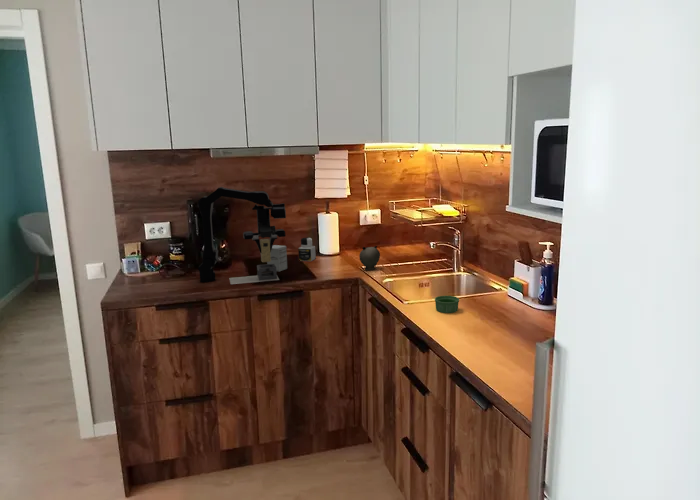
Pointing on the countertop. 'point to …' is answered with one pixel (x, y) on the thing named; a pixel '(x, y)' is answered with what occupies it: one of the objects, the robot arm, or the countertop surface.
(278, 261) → the supplement box
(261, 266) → the collar stand
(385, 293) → the countertop surface
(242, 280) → the white board
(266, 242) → the beige tall block
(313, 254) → the medicine bottle
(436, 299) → the ramekin
